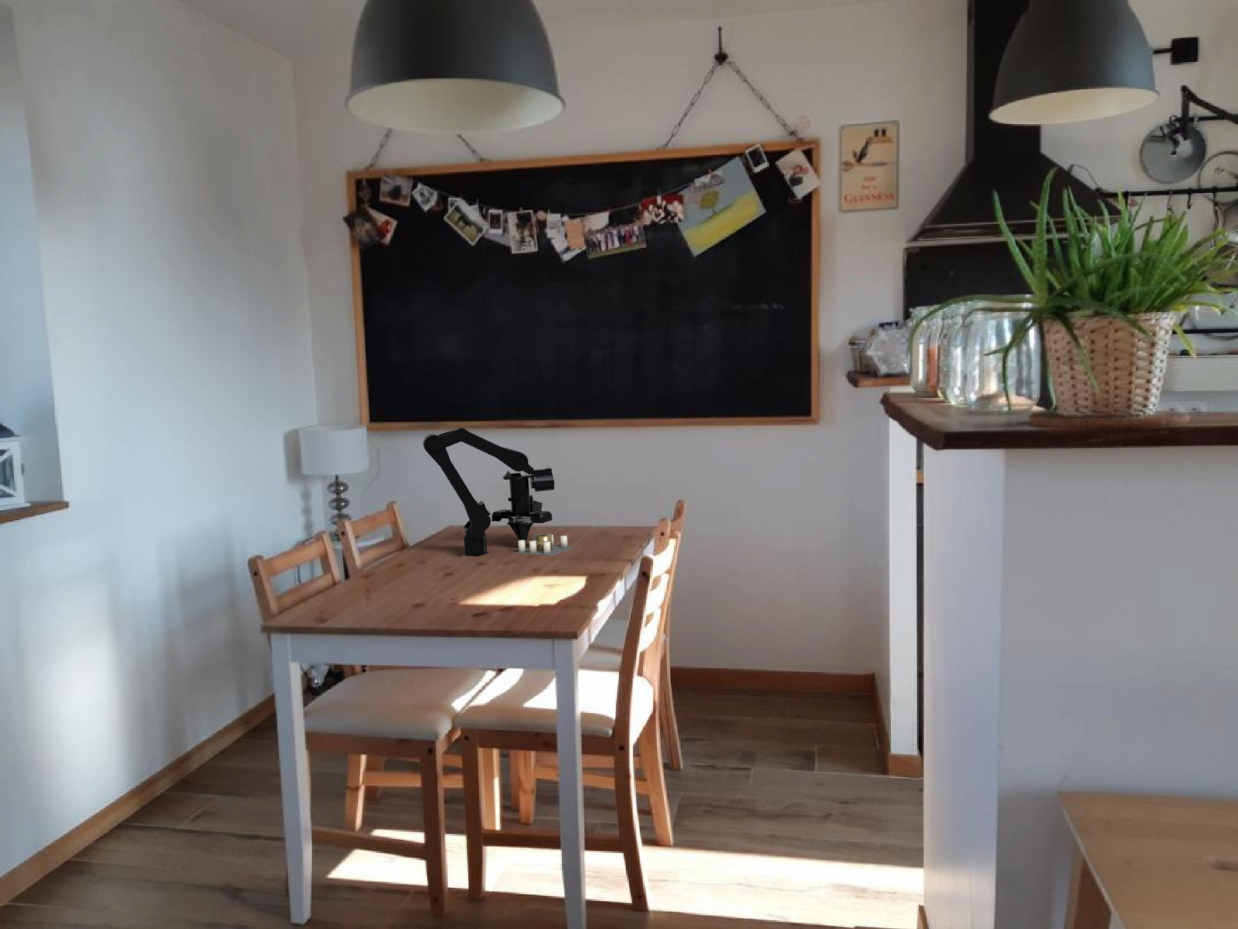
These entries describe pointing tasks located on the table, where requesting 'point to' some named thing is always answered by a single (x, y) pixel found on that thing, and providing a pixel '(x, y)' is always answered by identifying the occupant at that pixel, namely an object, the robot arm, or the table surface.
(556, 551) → the mat
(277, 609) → the table surface
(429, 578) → the table surface
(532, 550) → the spacers
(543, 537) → the knob
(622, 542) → the table surface
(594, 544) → the table surface
